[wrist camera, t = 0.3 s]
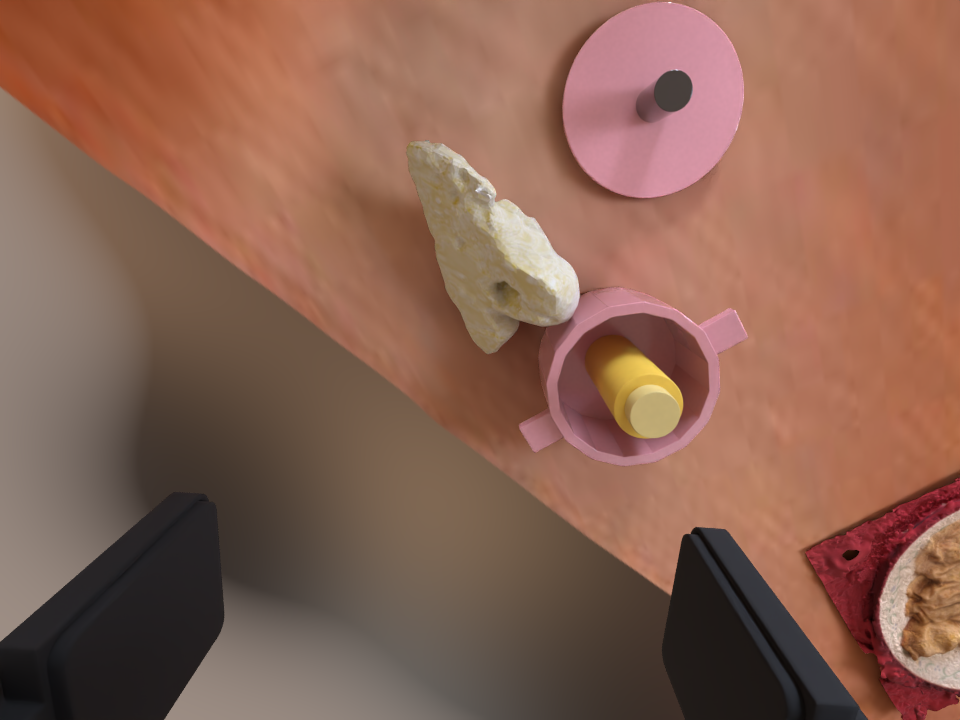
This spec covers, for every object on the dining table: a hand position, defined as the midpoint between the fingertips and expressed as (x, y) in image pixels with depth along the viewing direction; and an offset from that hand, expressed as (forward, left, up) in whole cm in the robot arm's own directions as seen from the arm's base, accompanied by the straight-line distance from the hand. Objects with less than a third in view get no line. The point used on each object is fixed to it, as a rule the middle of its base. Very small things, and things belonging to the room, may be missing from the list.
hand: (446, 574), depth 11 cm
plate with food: (+49, +27, -37) cm, 67 cm away
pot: (+11, +7, -37) cm, 39 cm away
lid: (-6, +19, -36) cm, 41 cm away
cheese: (-4, +2, -37) cm, 37 cm away
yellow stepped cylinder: (+11, +7, -36) cm, 38 cm away
